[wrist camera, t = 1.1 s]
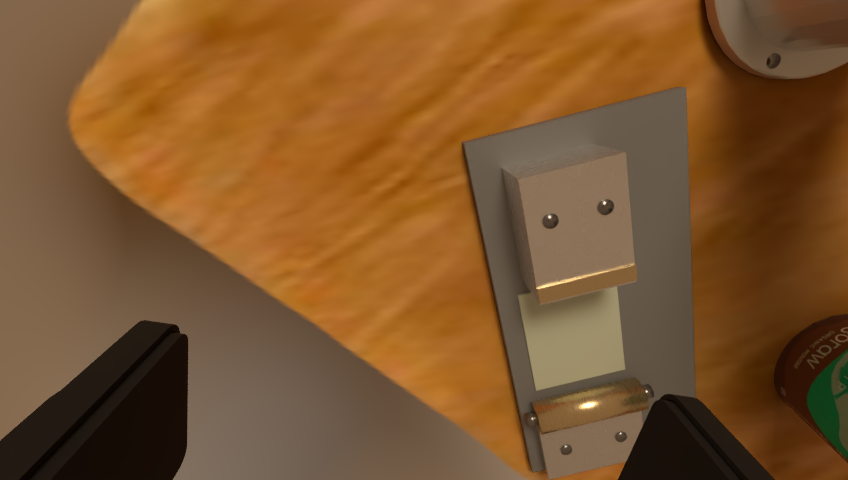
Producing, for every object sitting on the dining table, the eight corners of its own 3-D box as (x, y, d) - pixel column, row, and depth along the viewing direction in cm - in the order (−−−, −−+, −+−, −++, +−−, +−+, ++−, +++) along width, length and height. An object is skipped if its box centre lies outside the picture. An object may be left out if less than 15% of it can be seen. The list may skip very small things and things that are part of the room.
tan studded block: (593, 143, 27) (627, 152, 23) (605, 257, 29) (637, 282, 25) (501, 167, 27) (519, 180, 23) (521, 278, 30) (540, 306, 26)
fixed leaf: (640, 368, 33) (658, 388, 30) (646, 442, 35) (663, 466, 33) (519, 397, 33) (528, 419, 31) (534, 469, 36) (543, 495, 33)
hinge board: (675, 87, 27) (688, 87, 26) (688, 425, 36) (698, 435, 35) (461, 142, 27) (464, 144, 26) (529, 462, 37) (533, 474, 35)
